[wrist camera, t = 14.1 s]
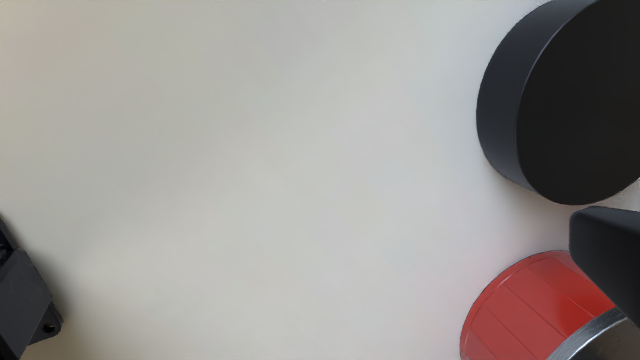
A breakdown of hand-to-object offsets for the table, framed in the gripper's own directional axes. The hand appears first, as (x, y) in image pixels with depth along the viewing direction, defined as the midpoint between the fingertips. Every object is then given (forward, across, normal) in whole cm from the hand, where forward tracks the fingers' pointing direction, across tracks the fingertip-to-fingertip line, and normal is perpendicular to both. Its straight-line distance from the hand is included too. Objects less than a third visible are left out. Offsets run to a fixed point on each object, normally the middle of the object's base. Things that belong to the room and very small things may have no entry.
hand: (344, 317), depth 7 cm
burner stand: (+13, -16, +3) cm, 21 cm away
